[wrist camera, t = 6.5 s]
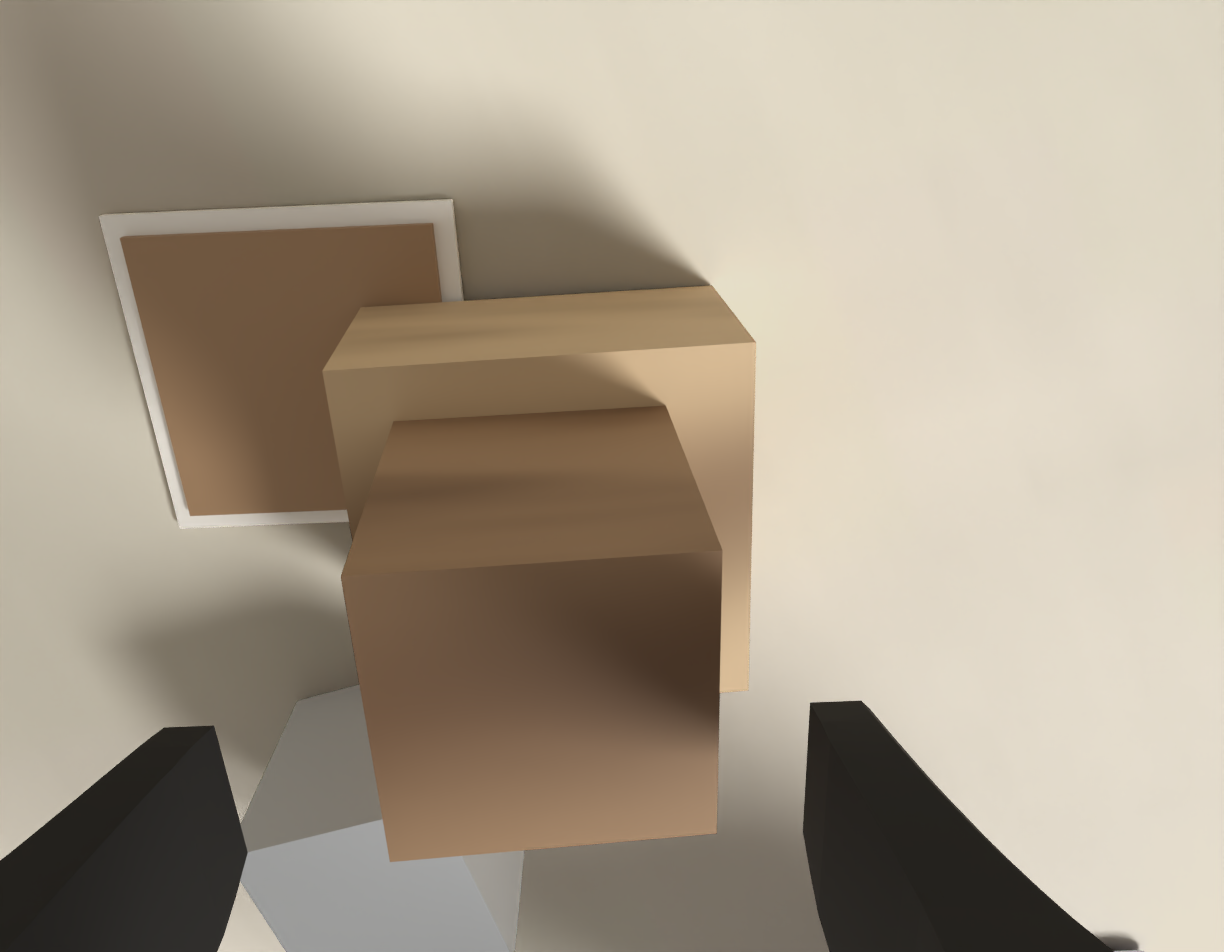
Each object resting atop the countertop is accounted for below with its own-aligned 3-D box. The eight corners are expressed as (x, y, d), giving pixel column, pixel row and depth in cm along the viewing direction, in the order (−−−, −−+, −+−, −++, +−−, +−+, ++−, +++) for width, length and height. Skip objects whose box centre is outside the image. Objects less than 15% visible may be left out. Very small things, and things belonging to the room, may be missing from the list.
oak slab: (711, 584, 22) (747, 690, 19) (407, 608, 22) (384, 722, 18) (711, 285, 19) (755, 342, 16) (360, 307, 19) (322, 371, 15)
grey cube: (530, 790, 25) (514, 960, 20) (370, 830, 25) (319, 1003, 21) (468, 653, 23) (436, 805, 18) (297, 699, 24) (225, 857, 19)
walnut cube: (667, 631, 18) (716, 833, 13) (424, 649, 18) (390, 862, 13) (665, 405, 16) (722, 550, 11) (393, 421, 16) (340, 576, 11)
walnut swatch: (486, 512, 21) (484, 520, 21) (183, 524, 21) (175, 533, 21) (452, 199, 18) (449, 201, 18) (103, 214, 19) (92, 217, 18)
